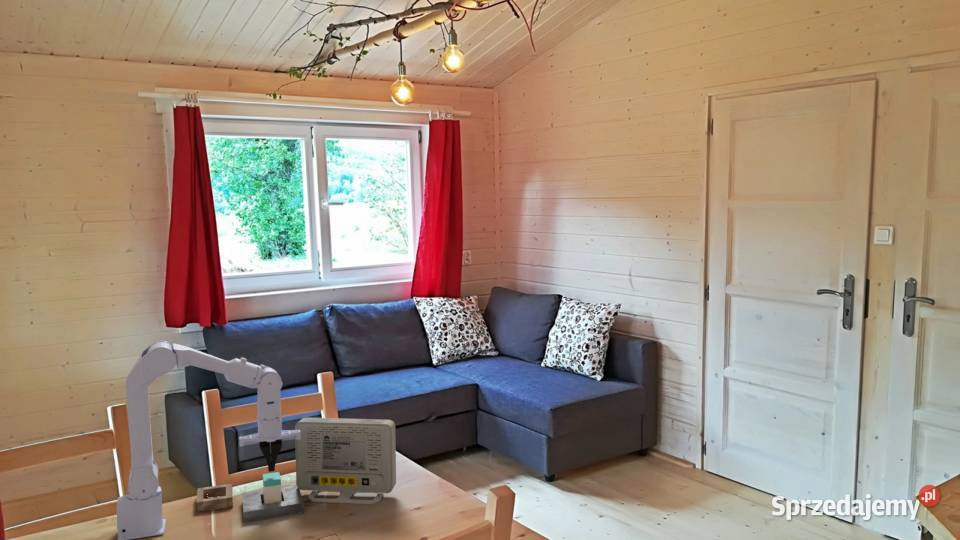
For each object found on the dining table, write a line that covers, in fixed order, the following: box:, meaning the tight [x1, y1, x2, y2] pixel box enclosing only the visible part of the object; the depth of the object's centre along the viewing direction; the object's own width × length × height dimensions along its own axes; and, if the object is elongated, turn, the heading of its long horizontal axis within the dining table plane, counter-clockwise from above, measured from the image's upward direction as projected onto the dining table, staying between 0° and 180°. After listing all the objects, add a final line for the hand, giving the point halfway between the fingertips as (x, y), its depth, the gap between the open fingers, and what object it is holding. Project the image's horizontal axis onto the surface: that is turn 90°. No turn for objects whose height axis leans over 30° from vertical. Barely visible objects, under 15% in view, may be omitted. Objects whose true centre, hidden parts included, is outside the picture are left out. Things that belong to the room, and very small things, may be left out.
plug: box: [262, 471, 283, 504], centre depth 171 cm, size 4×5×8 cm
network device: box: [294, 417, 397, 505], centre depth 177 cm, size 26×9×20 cm, turn 84°
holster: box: [196, 483, 234, 513], centre depth 175 cm, size 8×9×2 cm
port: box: [241, 485, 305, 523], centre depth 171 cm, size 14×12×2 cm
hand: (271, 470), depth 171 cm, fingers closed
